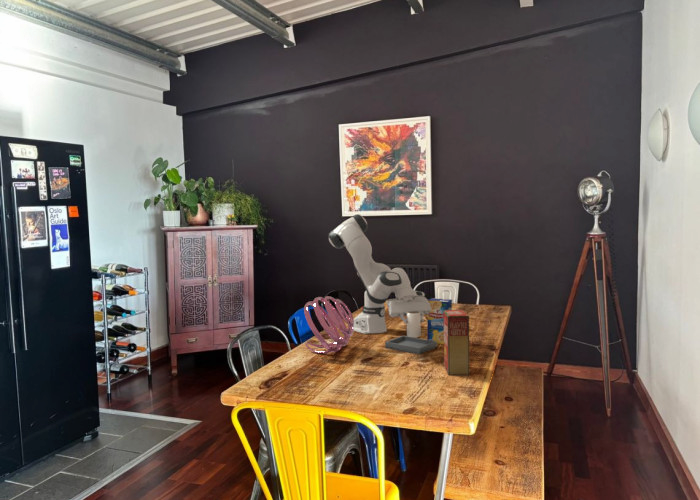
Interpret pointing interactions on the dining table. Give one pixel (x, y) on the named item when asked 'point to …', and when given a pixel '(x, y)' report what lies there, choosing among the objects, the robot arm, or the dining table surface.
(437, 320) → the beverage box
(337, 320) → the spiral basket
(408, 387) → the dining table surface
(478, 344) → the dining table surface
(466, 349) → the food packaging
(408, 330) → the cup
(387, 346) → the tray
